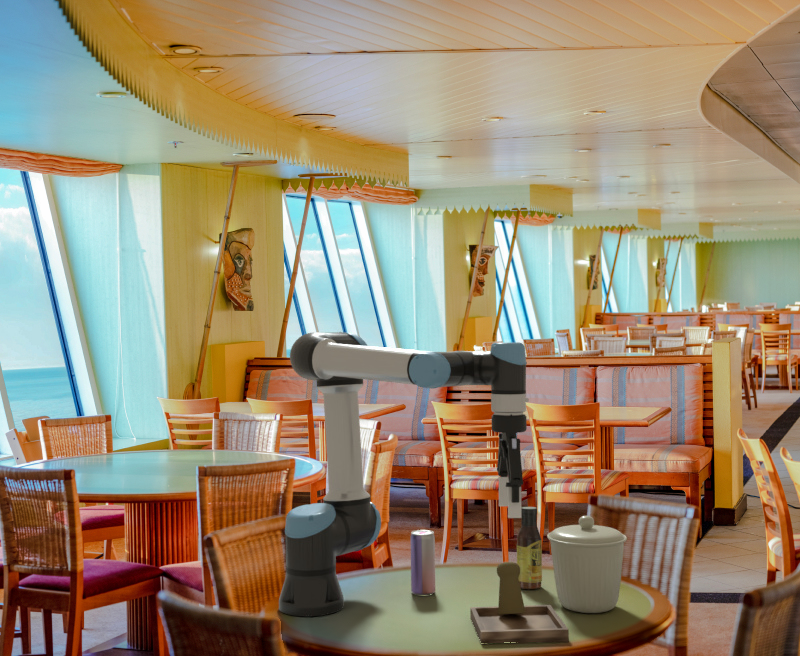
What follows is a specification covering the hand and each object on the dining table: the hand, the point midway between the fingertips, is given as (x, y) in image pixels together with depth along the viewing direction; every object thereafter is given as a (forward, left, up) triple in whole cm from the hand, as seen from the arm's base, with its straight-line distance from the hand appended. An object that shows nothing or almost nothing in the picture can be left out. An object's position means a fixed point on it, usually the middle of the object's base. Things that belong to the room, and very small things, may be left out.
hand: (509, 511), depth 198 cm
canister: (+20, +13, -25) cm, 35 cm away
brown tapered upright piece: (+1, +3, -23) cm, 23 cm away
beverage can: (-17, +29, -25) cm, 42 cm away
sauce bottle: (+10, +32, -25) cm, 42 cm away
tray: (+1, -2, -25) cm, 25 cm away
